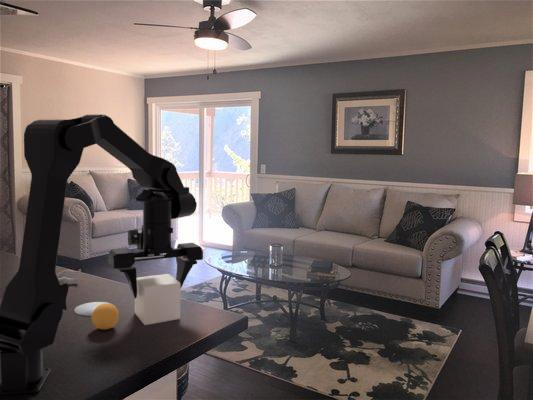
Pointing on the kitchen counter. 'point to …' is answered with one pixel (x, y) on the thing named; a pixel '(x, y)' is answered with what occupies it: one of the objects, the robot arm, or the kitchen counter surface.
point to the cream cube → (157, 299)
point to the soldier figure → (65, 272)
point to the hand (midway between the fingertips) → (156, 294)
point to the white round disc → (87, 308)
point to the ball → (105, 316)
